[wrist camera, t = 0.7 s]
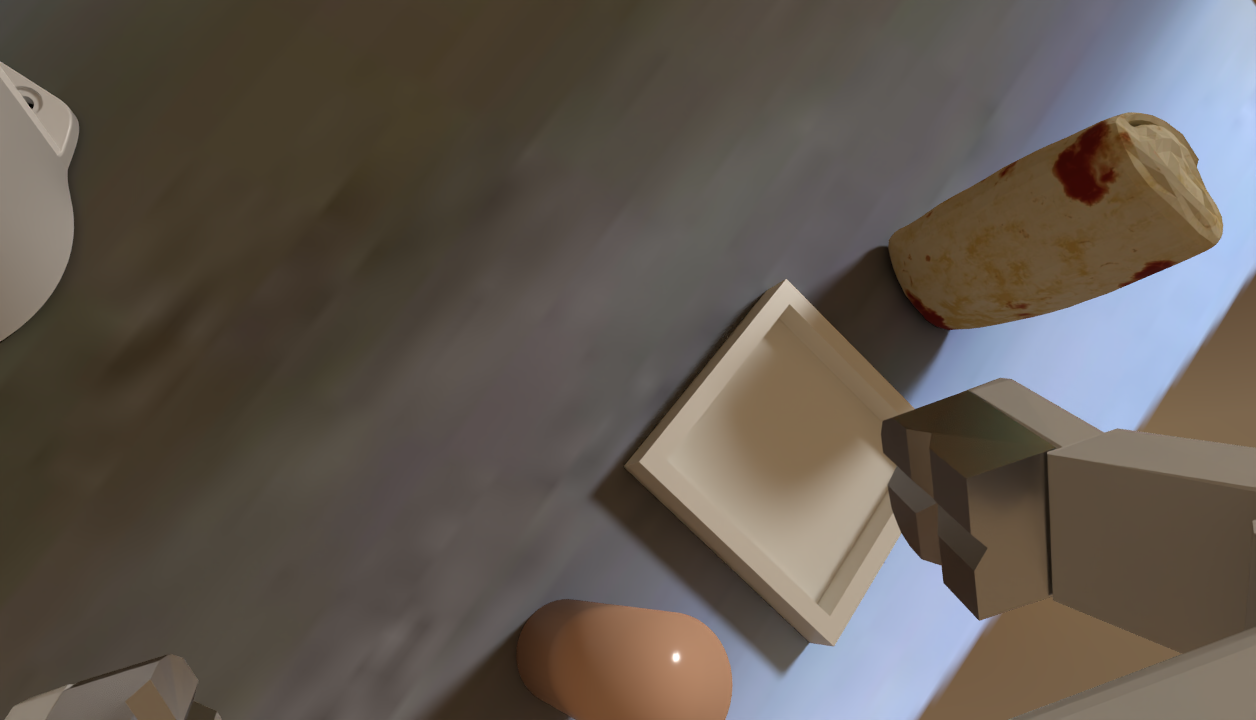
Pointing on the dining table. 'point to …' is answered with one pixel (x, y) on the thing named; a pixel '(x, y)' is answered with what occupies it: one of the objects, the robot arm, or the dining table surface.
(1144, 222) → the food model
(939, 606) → the dining table surface
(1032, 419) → the robot arm
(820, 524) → the bin
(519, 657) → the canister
